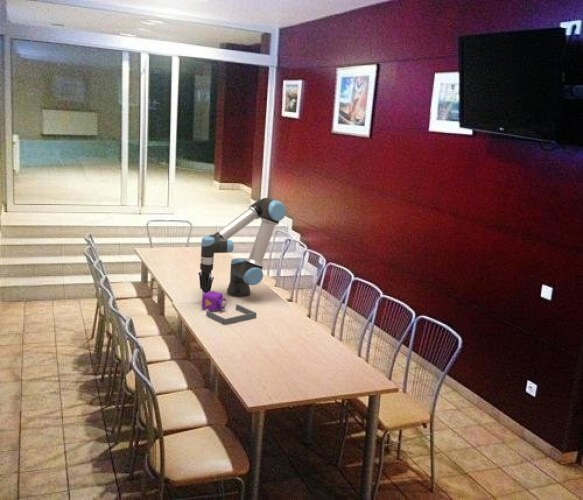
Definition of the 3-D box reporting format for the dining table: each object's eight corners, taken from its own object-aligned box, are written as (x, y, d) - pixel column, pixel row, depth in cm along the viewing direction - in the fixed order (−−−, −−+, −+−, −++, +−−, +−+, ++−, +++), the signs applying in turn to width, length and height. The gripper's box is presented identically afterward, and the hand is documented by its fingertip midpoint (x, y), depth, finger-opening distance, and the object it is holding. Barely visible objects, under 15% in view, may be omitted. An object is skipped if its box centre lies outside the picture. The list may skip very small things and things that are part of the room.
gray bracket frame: (236, 309, 351) (237, 303, 350) (256, 317, 338) (256, 311, 337) (205, 315, 335) (205, 309, 335) (224, 324, 323) (224, 318, 322)
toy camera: (222, 313, 341) (223, 297, 338) (200, 310, 343) (200, 293, 341) (228, 308, 351) (229, 292, 349) (206, 304, 354) (207, 288, 351)
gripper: (195, 261, 351) (193, 299, 356) (207, 266, 342) (205, 305, 347) (205, 260, 356) (203, 297, 361) (218, 265, 347) (216, 303, 352)
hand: (204, 301), depth 354 cm, fingers closed
